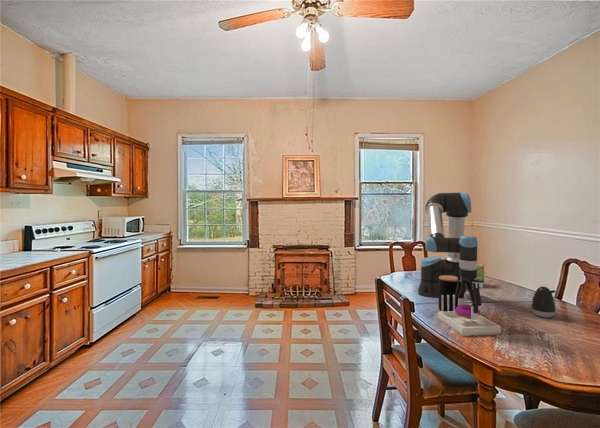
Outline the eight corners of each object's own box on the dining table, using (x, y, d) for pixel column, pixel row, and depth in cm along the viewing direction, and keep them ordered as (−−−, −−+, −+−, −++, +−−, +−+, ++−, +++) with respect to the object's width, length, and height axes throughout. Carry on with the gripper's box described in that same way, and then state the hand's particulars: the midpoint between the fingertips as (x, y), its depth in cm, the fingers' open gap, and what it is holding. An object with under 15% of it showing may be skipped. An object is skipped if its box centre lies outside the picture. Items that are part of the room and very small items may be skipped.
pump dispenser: (549, 320, 167) (549, 290, 166) (526, 314, 176) (527, 285, 175) (560, 317, 172) (561, 287, 171) (538, 311, 181) (538, 283, 180)
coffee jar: (459, 308, 186) (459, 276, 186) (461, 314, 176) (461, 280, 176) (437, 306, 190) (438, 274, 189) (439, 312, 180) (439, 279, 179)
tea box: (484, 285, 237) (484, 264, 236) (482, 288, 228) (483, 266, 228) (460, 282, 245) (460, 262, 244) (458, 285, 236) (458, 264, 236)
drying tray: (437, 318, 171) (437, 311, 171) (471, 317, 173) (471, 310, 173) (462, 335, 149) (462, 328, 149) (501, 334, 151) (501, 326, 151)
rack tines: (437, 317, 173) (437, 294, 173) (467, 316, 175) (468, 293, 174) (439, 318, 171) (439, 295, 171) (470, 317, 173) (470, 294, 172)
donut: (451, 315, 162) (451, 306, 162) (462, 311, 168) (462, 302, 168) (473, 321, 154) (473, 311, 153) (484, 316, 160) (484, 307, 160)
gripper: (447, 264, 171) (447, 308, 172) (474, 274, 148) (474, 324, 149) (462, 264, 172) (461, 307, 172) (491, 273, 149) (490, 323, 150)
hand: (467, 315), depth 161 cm, fingers closed on donut, 10 cm apart
